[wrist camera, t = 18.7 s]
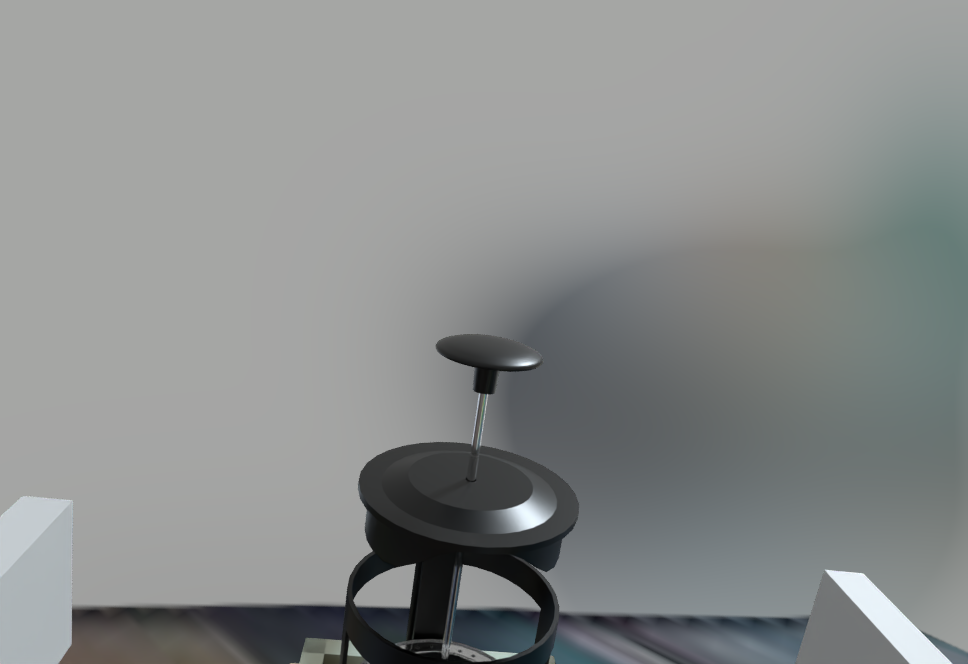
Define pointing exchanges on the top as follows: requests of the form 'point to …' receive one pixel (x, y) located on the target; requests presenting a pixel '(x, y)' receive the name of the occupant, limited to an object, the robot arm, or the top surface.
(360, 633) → the french press
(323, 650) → the tray
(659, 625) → the top surface
